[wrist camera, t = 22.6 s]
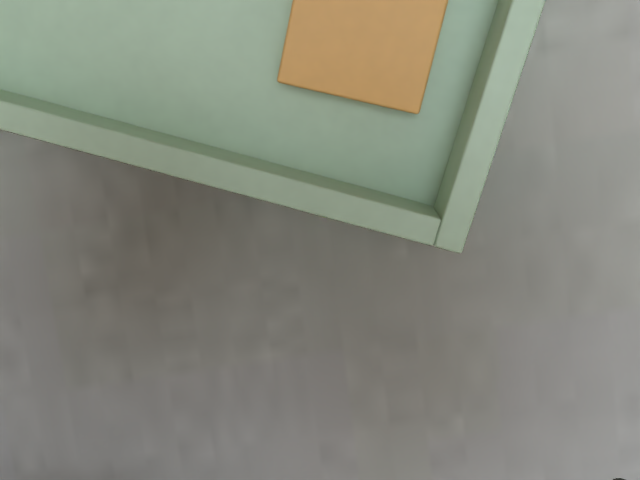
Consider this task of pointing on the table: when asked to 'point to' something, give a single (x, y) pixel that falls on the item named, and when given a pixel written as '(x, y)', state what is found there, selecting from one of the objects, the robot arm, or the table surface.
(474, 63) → the tray
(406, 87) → the flat tan block
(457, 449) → the table surface
